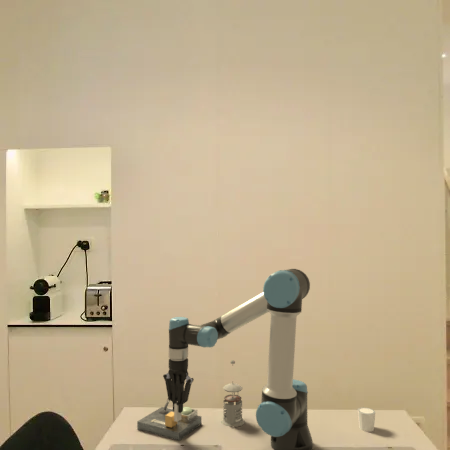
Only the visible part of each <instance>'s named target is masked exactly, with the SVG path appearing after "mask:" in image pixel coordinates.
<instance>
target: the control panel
mask: <svg viewBox="0 0 450 450" xmlns="http://www.w3.org/2000/svg"><path fill="white" fill-rule="evenodd" d="M163 409H164V406H161V407H159V408H158V409H156V410H155V411H153V412H151V413H149V414H148V415H145V416H144V417H142V418H141V419H139V420H137V423H136V424H137V425H136V428H137V430H140V431H142V432H146V433H150V434H154V435H156V436H157V435H158V436H160V437H163V438H164V437H165V438H167V439H172V440H174V441H178V442H180V441H181V440H182V439H184V438H185V437H186V436H187V435H189V434H191V432H193V431H194V430H196V429H197V428H199V426H201V425H202V416H201V415H198V409H195V408H192V413H191V414H189V415H184V414H181V420H179V421H178V424H176V425H175V426H173V427H172V428H171V427H167V426H165V415H167V414H168V413H170V412H174V411H173V408H170V407H169V408H168V407H167V409H166V411H164V410H163Z"/></svg>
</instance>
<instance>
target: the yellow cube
mask: <svg viewBox="0 0 450 450" xmlns="http://www.w3.org/2000/svg"><path fill="white" fill-rule="evenodd" d="M176 424H178V422H176V421H174V412H170V413H168V414H167V415H165V426H167V427H171V428H172V427H173V426H175V425H176Z"/></svg>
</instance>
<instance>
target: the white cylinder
mask: <svg viewBox="0 0 450 450" xmlns="http://www.w3.org/2000/svg"><path fill="white" fill-rule="evenodd" d="M356 410H357V418H358V428H359V430H360V431H364V432H366V433H367V432H368V433H372V432H374V431H375V420H376V410H375V409H373V408H369V407H364V406H363V407H358V408H357V409H356Z"/></svg>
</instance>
